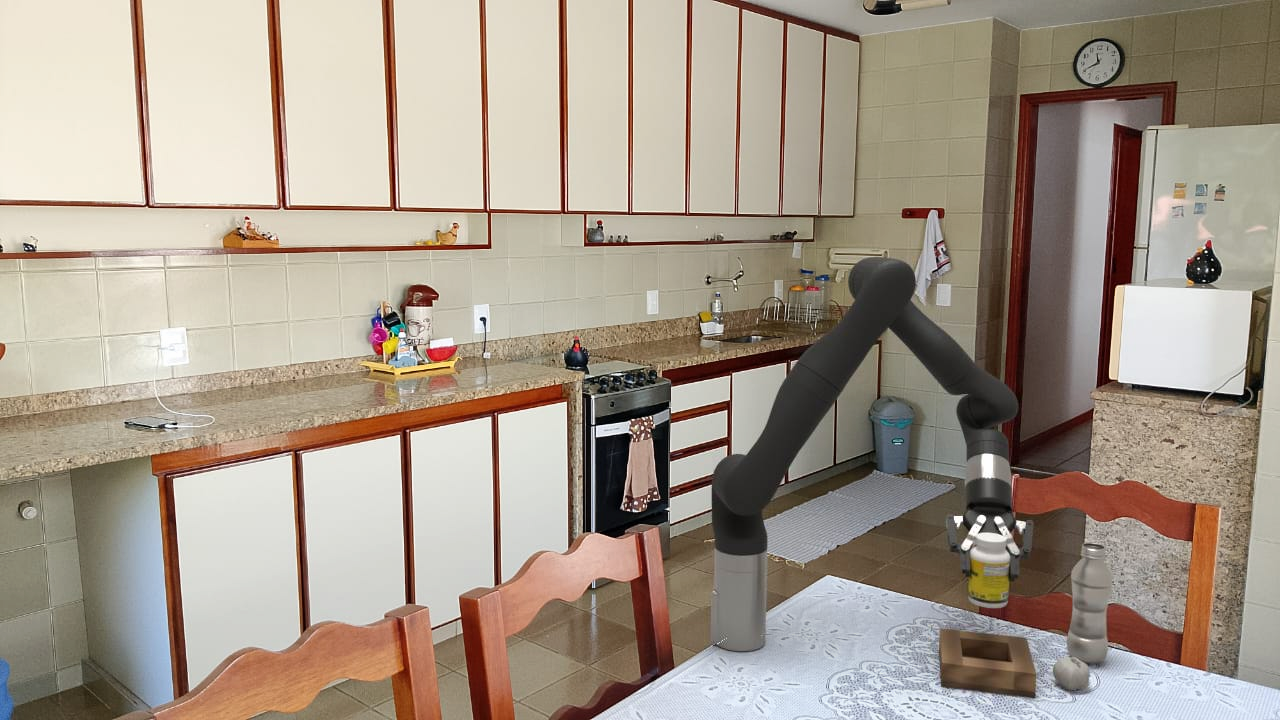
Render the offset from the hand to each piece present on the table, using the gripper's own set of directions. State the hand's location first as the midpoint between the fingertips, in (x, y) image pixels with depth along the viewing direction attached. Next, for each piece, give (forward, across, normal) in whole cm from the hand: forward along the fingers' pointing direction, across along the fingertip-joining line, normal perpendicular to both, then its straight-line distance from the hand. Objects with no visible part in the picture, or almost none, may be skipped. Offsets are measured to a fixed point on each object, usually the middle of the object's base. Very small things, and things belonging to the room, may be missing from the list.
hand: (990, 577), depth 154 cm
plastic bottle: (+4, +17, +20) cm, 27 cm away
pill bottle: (+2, 0, +5) cm, 5 cm away
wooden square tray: (+11, 0, +13) cm, 17 cm away
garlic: (+12, +13, +12) cm, 22 cm away
